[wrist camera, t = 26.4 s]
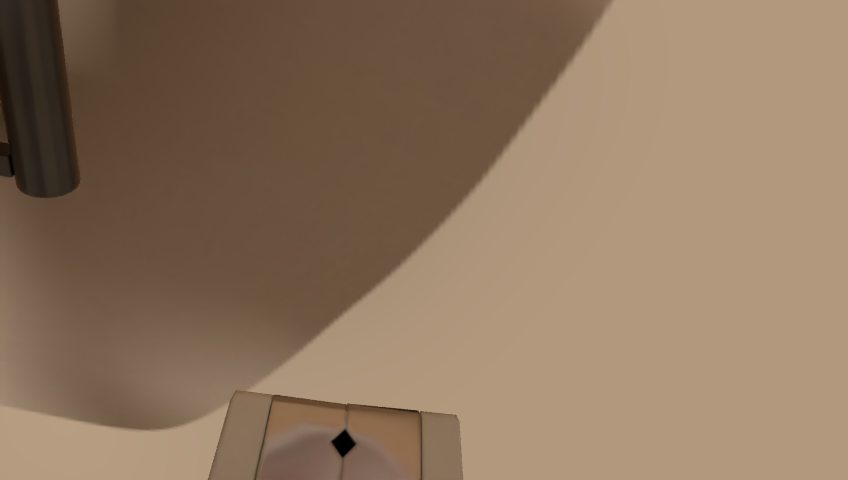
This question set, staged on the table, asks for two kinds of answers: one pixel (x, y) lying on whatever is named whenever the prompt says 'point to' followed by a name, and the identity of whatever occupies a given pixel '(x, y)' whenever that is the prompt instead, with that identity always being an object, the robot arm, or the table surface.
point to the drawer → (36, 100)
